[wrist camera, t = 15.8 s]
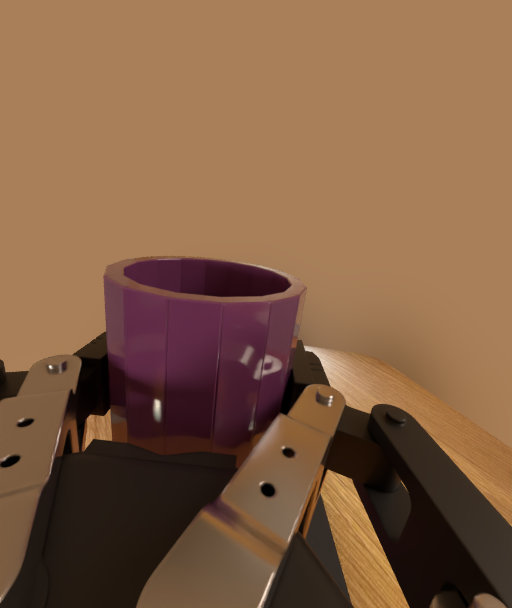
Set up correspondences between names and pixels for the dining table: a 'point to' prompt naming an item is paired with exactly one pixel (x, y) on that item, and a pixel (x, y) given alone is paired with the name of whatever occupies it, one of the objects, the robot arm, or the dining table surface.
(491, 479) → the dining table surface
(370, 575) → the dining table surface
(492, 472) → the dining table surface
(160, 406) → the plum cup
